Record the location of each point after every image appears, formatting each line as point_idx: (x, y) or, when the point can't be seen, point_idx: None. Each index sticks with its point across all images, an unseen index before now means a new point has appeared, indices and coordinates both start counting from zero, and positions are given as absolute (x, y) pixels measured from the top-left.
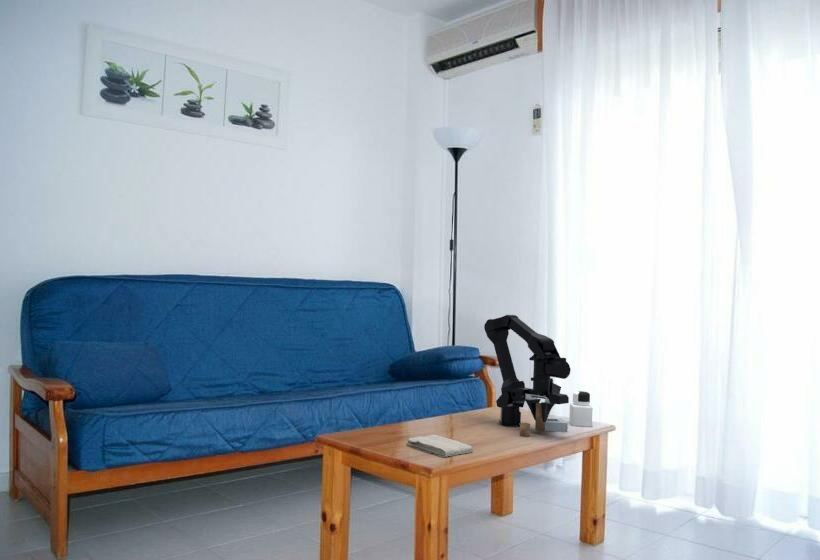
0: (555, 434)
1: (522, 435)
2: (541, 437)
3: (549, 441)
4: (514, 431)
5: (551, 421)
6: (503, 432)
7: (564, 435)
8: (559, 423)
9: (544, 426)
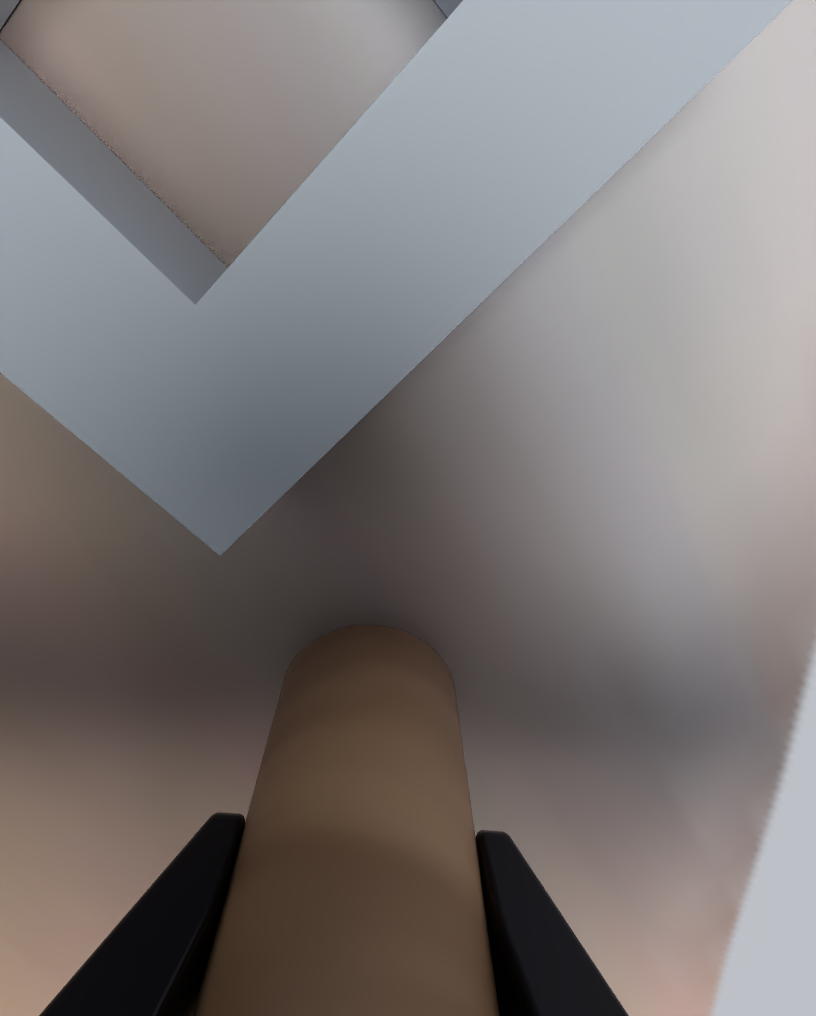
0: (603, 534)
1: None
2: (541, 855)
3: (721, 940)
4: (63, 843)
5: (323, 230)
6: (44, 974)
7: (763, 475)
8: (589, 193)
9: (462, 748)
